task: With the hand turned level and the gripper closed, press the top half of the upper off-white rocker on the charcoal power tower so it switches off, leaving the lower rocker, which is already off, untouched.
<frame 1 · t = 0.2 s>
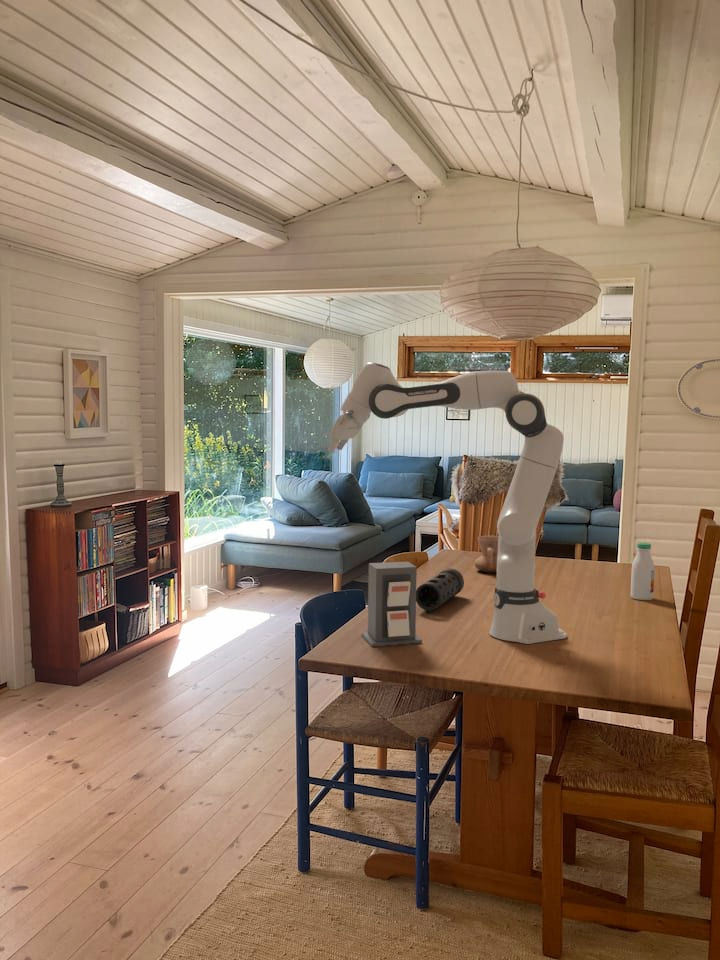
hand: (334, 450, 240), 54 cm above the table, tool tilted 30°, fingers open, 8 cm apart
milk bottle: (641, 598, 280), on the table
power tower: (391, 639, 226), on the table
lower rocker: (398, 623, 220), point 7 cm above the table, hinge at 15.0°
muzzle brake: (440, 604, 269), on the table
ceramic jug: (491, 572, 323), on the table
upper rocker: (398, 594, 219), point 15 cm above the table, hinge at -15.0°
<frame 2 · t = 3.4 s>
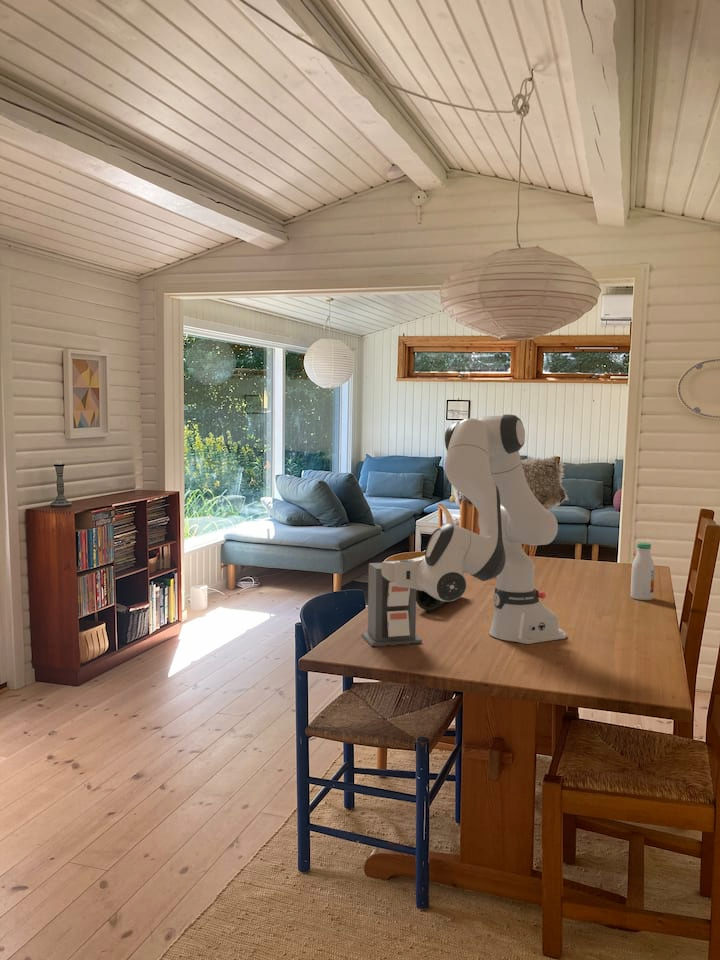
hand: (412, 563, 207), 26 cm above the table, tool horizontal, fingers open, 8 cm apart
nothing on the table moved.
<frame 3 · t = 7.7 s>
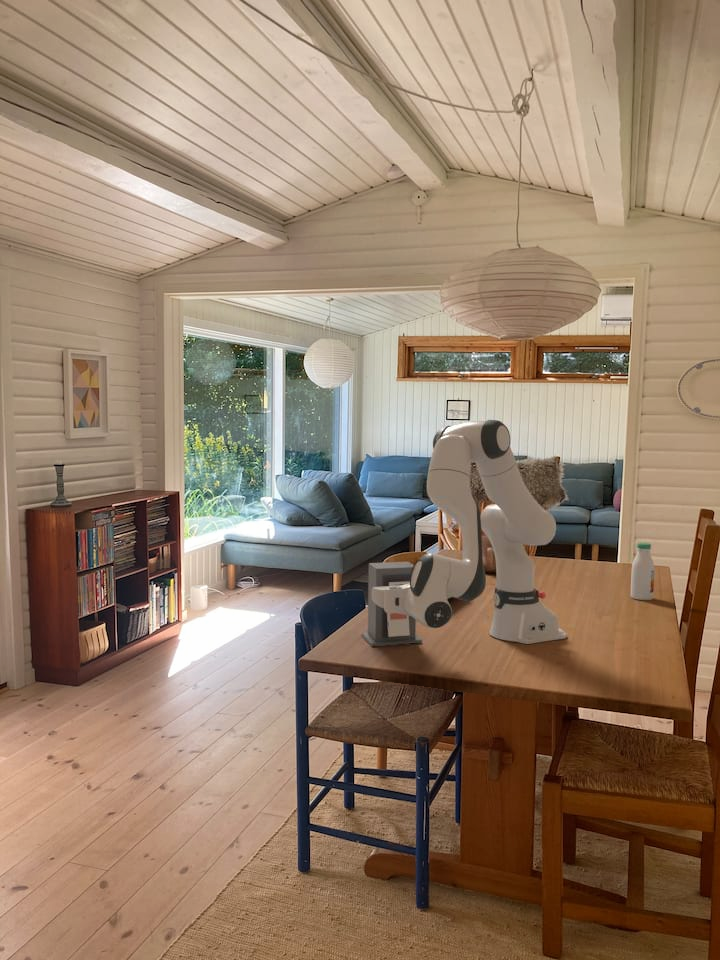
hand: (400, 587, 218), 17 cm above the table, tool horizontal, fingers closed, pressing on upper rocker
upper rocker: (398, 594, 219), point 15 cm above the table, hinge at -14.3°, touching gripper
everything else where it was.
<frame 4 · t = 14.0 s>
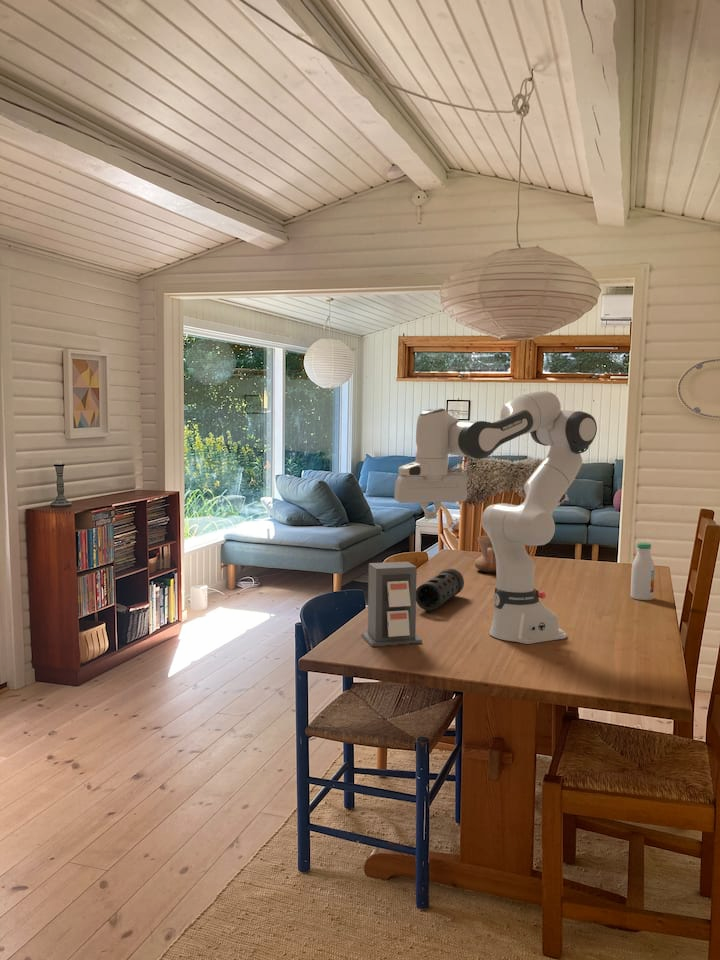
hand: (430, 518, 213), 37 cm above the table, tool pointing down, fingers closed
upper rocker: (398, 593, 219), point 15 cm above the table, hinge at 21.5°
everything else where it was.
at the end: upper rocker at +22° (first picture: -15°); lower rocker at +15° (first picture: +15°) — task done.
